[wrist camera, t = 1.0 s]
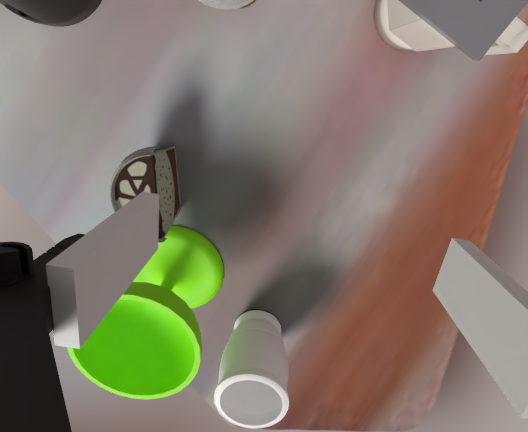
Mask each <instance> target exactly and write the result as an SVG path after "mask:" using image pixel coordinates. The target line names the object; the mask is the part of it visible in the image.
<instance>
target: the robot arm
mask: <svg viewBox="0 0 528 432" xmlns="http://www.w3.org/2000/svg"><path fill="white" fill-rule="evenodd" d="M100 2H101V0H0V3H1V4H2V5H4V6H5V7H6V8H8V9H9V10H11V11H12V12H14V13H15V14H17V15H19V16H21V17H23V18H25V19H27V20H29V21H32V22H35V23H39V24H45V25H50V26H70V25H73V24H76V23H79V22H81V21H83V20H84V19H86V18H87V17H88V16H90V15H91V14H92V13H93V12H94V11H95V9H96V8H97V7H98V5H99V4H100ZM158 234H159V194H155V193H148V192H141V193H140V194H139V195H137V196H136V197H135V198H134V199H132V200H131V201H130V202H128V203H127V204H126V205H124V206H123V207H122V208H120V209H119V210H118V211H116V212H115V213H114V214H112V215H111V216H110V217H108V218H107V219H106V220H104V221H103V222H102V223H100V224H99V225H98V226H96V227H95V228H94V229H92V230H91V231H90V232H88V233H87V234H86V235H84V234H76V235H74V236H71V237H68V238H65V239H64V240H62V241H61V242H59V243H58V244H56V245H55V247H52V248H51V249H49V250H48V251H47V252H46V253H44V254H42V255H41V256H39V257H38V258H36V259H35V260H34V261H33V253H32V248H31V247H30V246H29V245H27V244H24V243H19V242H1V243H0V432H72V431H71V427H70V422H69V418H68V414H67V410H66V406H65V401H64V397H63V393H62V388H61V384H60V379H59V375H58V371H57V367H56V362H55V358H54V354H53V349H52V345H51V341H50V336H49V333H50V332H51V331H52V330H53V334H54V343H55V345H58V346H65V347H71V348H77V349H80V348H81V347H82V346H83V344H84V343H85V342H86V341H87V339H88V338H89V337H90V335H91V334H92V333H93V332H94V330H95V329H96V328H97V326H98V325H99V324H100V323H101V321H102V320H103V319H104V318H105V316H106V315H107V314H108V312H109V311H110V310H111V309H112V307H113V306H114V305H115V303H116V302H117V301H118V300H119V298H120V297H121V296H122V294H123V293H124V292H125V291H126V289H127V288H128V287H129V286H130V284H131V283H132V282H133V280H134V279H135V278H136V277H137V275H138V274H139V273H140V271H141V270H142V269H143V268H144V266H145V265H146V264H147V263H148V261H149V260H150V259H151V257H152V256H153V255H154V254H155V252H156V251H157V250H158ZM433 292H434V293H435V295H436V296H437V298H438V299H439V300H440V302H441V303H442V305H443V306H444V308H445V309H446V311H447V312H448V314H449V315H450V316H451V318H452V319H453V321H454V322H455V324H456V325H457V327H458V328H459V329H460V331H461V332H462V334H463V335H464V337H465V338H466V339H467V341H468V342H469V344H470V345H471V347H472V348H473V350H474V351H475V353H476V354H477V356H478V357H479V358H480V360H481V361H482V363H483V364H484V366H485V367H486V369H487V370H488V371H489V373H490V374H491V376H492V377H493V379H494V380H495V381H496V383H497V384H498V386H499V387H500V389H501V390H502V392H503V393H504V395H505V396H506V398H507V399H508V400H509V402H510V403H511V405H512V406H513V407H514V409H515V411H516V412H517V414H518V415H519V416H520V418H527V419H528V292H527V291H526V290H525V289H524V288H523V287H522V286H521V285H519V284H518V283H517V282H516V281H515V280H514V279H513V278H511V277H510V276H509V275H508V274H507V273H506V272H504V271H503V270H502V269H501V268H500V267H499V266H497V265H496V264H495V263H494V262H493V261H492V260H491V259H490V258H489V257H488V256H486V255H485V254H484V253H483V252H482V251H481V250H480V249H478V248H477V247H476V246H475V245H474V244H473V243H472V242H470V241H469V240H463V239H456V238H452V239H451V242H450V245H449V247H448V250H447V253H446V256H445V258H444V261H443V264H442V266H441V269H440V272H439V275H438V277H437V280H436V283H435V285H434V288H433Z"/></svg>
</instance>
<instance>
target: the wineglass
mask: <svg viewBox="0 0 528 432" xmlns="http://www.w3.org/2000/svg"><path fill="white" fill-rule="evenodd" d="M165 238H167V240H165V241H164V242H162V243H158V250H157V251H156V252H155V254H154V255H153V256H152V257H151V259H150V260H149V261H148V263H147V264H146V265H145V266H144V268H143V269H142V270H141V271H140V273H139V274H138V275H137V277H136V278H135V279H134V280H133V282H132V283H131V284H130V286H129V287H128V288H127V289H126V291H125V292H124V293H123V294H122V296H121V297H120V298H119V300H118V301H117V302H116V303H115V305H114V306H113V307H112V309H111V310H110V311H109V312H108V314H107V315H106V316H105V318H104V319H103V320H102V321H101V323H100V324H99V325H98V326H97V328H96V329H95V330H94V332H93V333H92V334H91V335H90V337H89V338H88V339H87V341H86V342H85V343H84V344H83V346H82V347H81V348H80V349H77V348H71V347H67V349H68V353H69V355H70V357H71V359H72V360H73V362H74V364H75V365H76V367H77V368H78V369H79V370H80V371H81V372H82V373H83V374H84V375H85V376H86V377H87V378H88V379H89V380H91V381H92V382H93V383H95V384H97V385H98V386H99V387H101V388H103V389H105V390H107V391H110V392H112V393H114V394H117V395H120V396H125V397H129V398H134V399H156V398H162V397H166V396H169V395H172V394H174V393H177V392H179V391H180V390H182V389H183V388H184V387H186V386H187V385H188V384H190V382H191V381H192V380H193V378H194V377H195V375H196V374H197V372H198V368H199V365H200V361H201V352H202V340H201V332H200V329H199V325H198V322H197V320H196V317H195V315H194V313H193V311H192V310H191V309H192V308H196V307H199V306H201V305H203V304H205V303H207V302H208V301H209V300H211V299H212V298H213V297H214V296H215V295H216V294H217V292H218V291H219V289H220V288H221V285H222V282H223V278H224V266H223V263H222V260H221V257H220V254H219V253H218V251H217V250H216V248H215V247H214V245H213V244H212V243H211V242H209V241H208V240H207V239H206V238H205V237H204V236H202V235H201V234H199V233H197V232H195V231H193V230H191V229H188V228H184V227H180V226H171V227H170V229H169V231H168V233H167V235H166V236H165Z"/></svg>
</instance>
